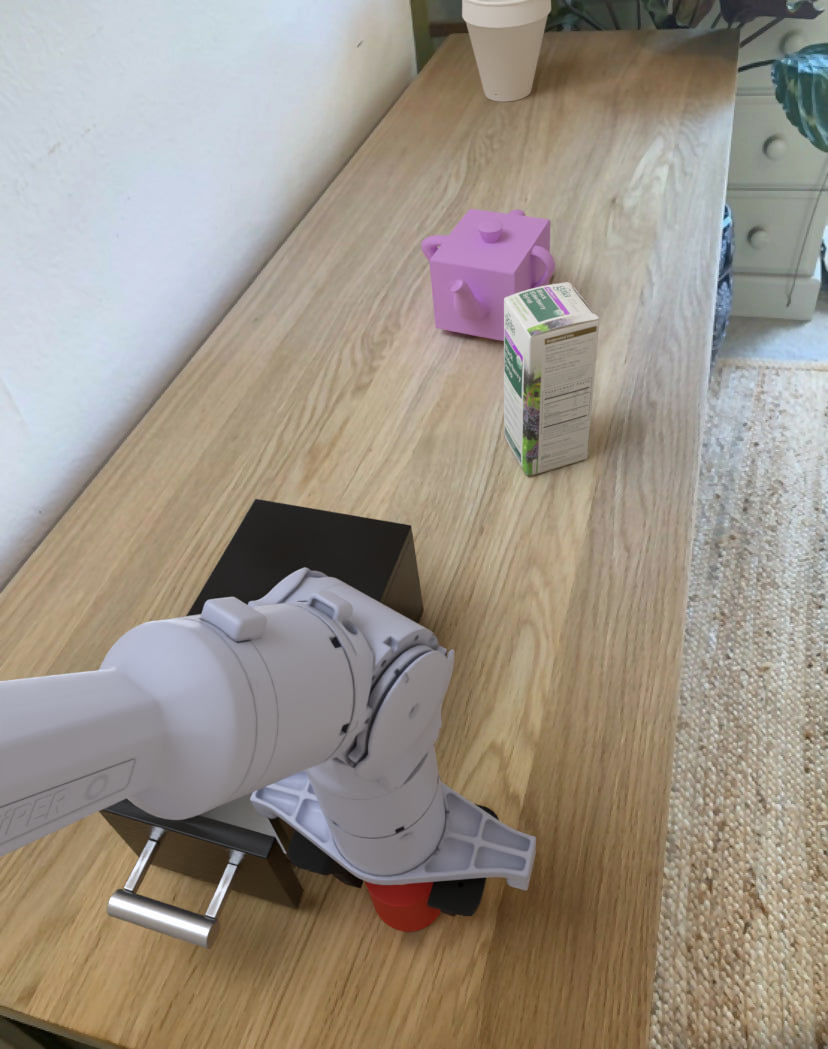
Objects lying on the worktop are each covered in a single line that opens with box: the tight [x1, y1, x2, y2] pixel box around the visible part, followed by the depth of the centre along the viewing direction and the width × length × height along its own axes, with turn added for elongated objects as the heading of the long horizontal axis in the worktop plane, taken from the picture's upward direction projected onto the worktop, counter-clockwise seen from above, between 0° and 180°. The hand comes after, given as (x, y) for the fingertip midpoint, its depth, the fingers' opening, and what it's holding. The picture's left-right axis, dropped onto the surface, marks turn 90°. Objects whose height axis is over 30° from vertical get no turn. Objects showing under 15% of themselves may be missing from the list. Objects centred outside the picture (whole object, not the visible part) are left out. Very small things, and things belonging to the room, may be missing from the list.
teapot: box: [420, 208, 556, 342], centre depth 85 cm, size 18×14×10 cm
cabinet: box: [186, 498, 425, 625], centre depth 58 cm, size 14×12×10 cm
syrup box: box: [503, 281, 600, 477], centre depth 69 cm, size 6×6×14 cm
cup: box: [461, 0, 552, 103], centre depth 121 cm, size 12×12×14 cm
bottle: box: [364, 881, 442, 933], centre depth 48 cm, size 4×4×6 cm
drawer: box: [98, 792, 305, 950], centre depth 50 cm, size 17×10×8 cm, turn 162°
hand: (407, 883), depth 49 cm, fingers open, 5 cm apart
